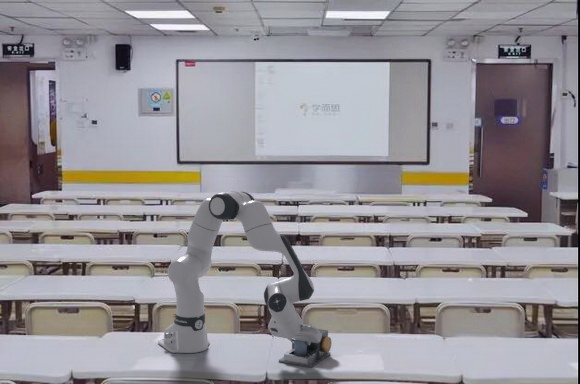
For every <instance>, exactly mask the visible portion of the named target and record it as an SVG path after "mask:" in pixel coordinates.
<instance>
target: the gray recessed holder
mask: <svg viewBox="0 0 580 384" xmlns="http://www.w3.org/2000/svg"><path fill="white" fill-rule="evenodd" d="M304 324H305V325H309V324H308V323H307V324H306V323H304ZM310 325H311V326H313V325H312V324H310ZM317 329H318V330H319V331H320V333H321V334H322V338H321V341H320V342H319V343H312V342H311V344H310V345H307V356H305V357H303V356H297V355H294V343H293V342H291V349H289V351H287V352H285V353H283V357H281V358H280V359H278V363H281V362H284V363H283V364H287V363H289V364H288V365H293V366H299V367H305V368H313V367H315V366H316V365H317V364H319V363H321V362H322V361H323V360H324V359H326V358H328V357H329V356H331V348H332V338H331V337H330V336H329V330H327V329H322V328H321V329H320V328H317Z"/></svg>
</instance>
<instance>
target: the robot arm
mask: <svg viewBox="0 0 580 384" xmlns="http://www.w3.org/2000/svg"><path fill="white" fill-rule="evenodd" d="M192 219H193V220H192V223H191V224H190V228H189V231H188V233H187V235H186V236H187V237H186V239H187V249H186V251H185V253H184V255H181V256H178V257H177V258H175V259H173V261H172V262H171V263H170V264H169V265H168V267H167V277H168V279H169V280H170V281H171V282H172V285H173V288H174V291H175V298H176V313H174V314H173V315H172V318H173V319H174V320H173V323H171V324H170V325H169V326H168V327H166V328H165V329H164V332H163V333H164V334H163V338H161V339H159V340H158V341H157V343H158V345H160V346H161V348H164V349H166V350H167V351H168V352H169V353H175V354H179V353H181V354H193V353H194V354H196V353H199V352H204V351H206V350H207V349H208V348H209V345H210V340H208V339H209V338H208V330H207V329H208V328H207V325H206V324H205V323H206V314H205V295H204V293H203V292H202V291H201V288H200V283H199V279H200V278H202V277H205V275H207V274H208V273H209V271H210V270H211V268H212V264H213V261H212V253H213V249H214V244H215V242H216V239H217V237H218V234H219V231H220V229H221V226H222V223H223V221H235V220H238V221H239V222H240V223H241V224H242V227H243V230H244V234H245V237H246V239H247V241H248V244H249V245H250V247H252V249H254V250H257V251H260V252H275V253H279V254H282V255H283V256H284V258H285V259H286V261H287V263H288V265H289V267H290V268H291V271H292V272H293V275H292V276H289V277H287V278H283V279H280V280H276V281H273V282H271V283H269V284H268V283H267V285H266V287H265V289H264V292H263V298H264V299H263V300H264V303H265V305H266V308H267V309H268V311H269V313H270V315H271V318H270V320H269V322H268V325H267V329H268V330H269V332H270V334H271V335H272V336H273V337H277V338H283V339H287V340H289V341H290V342H291V343H292V342H293V343H294V340H300V341H306V342H305V344H306V345H310V344H311V342H312V343H319V342H320V341H321V338H322V334H321V333H320V331H319V330H318V329H319V328H317V326H315V325H312V324H308V325H305V324H306V323H303V319H302V318H301V317H300V314H299V313H298V311H296V307H295V305H294V304H296V303H297V302H302V301H306V300H307V301H308V300H310V298H311V297H312V295H313V294H314V292H315V286H314V283H313V281H312V279H311V278H310V276H309V275H308V274H307V272H306V270H305V268H304V267H303V265H302V263H301V261H300V259H299V258H298V255H297V253H296V252H295V250H294V248H293V246H292V245H291V243H290V241H289V240H288V238H287V237H286V236H285V235H284V234H280V233H279V232H278V231H277V230H276V228H275V227H274V224H273V222H272V218H271V217H270V214H269V212H268V210H267V207H266V206H265V205H264V203H263V202H262V201H260V200H255V198H254V196H252V194H250V193H249V192H245V191H235V190H233V191H225V192H224V191H222V192H219V193H216V194H214V195H213V196H211V197H207V198H205V199H204V200H202V202H201V203H200V205H199V207H198V209H197V210H196V213H195V214H194V217H193V218H192ZM311 325H312V326H311Z"/></svg>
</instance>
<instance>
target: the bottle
mask: <svg viewBox="0 0 580 384" xmlns="http://www.w3.org/2000/svg"><path fill="white" fill-rule="evenodd" d="M305 342H306V341H300V340H294V355H297V356H303V357H305V356H307V345H306V344H305Z"/></svg>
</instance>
